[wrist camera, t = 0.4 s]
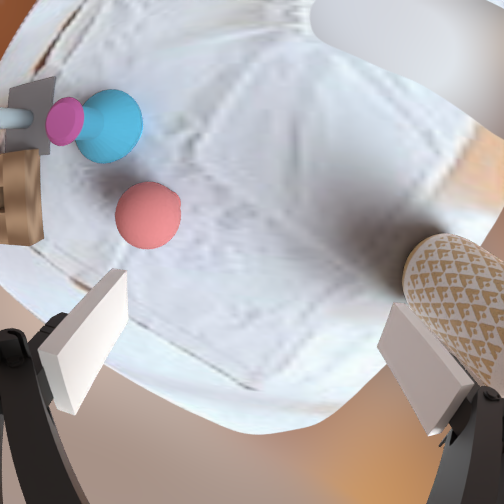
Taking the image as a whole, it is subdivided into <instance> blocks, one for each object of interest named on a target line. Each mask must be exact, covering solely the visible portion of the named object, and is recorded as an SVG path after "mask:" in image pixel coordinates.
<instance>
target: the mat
mask: <svg viewBox="0 0 504 504" xmlns="http://www.w3.org/2000/svg"><path fill="white" fill-rule="evenodd" d="M55 79H56V77H50V78H46V79H42V80H38V81H34V82H31V83H27V84H24V85H20V86H17V87H13V88H10V92H9V100H8V108H15V109H27V110H31V111H32V112H33V122H32V124H31V126H30V127H28V128H26V129H6V139H5V153H9V152H15V151H22V150H32V149H39V155H49V154H50V140H49V138H48V137H47V134H46V129H45V123H46V118H47V115H48V112H49V110H50V109H51V107H52V105H53V95H54V87H55Z"/></svg>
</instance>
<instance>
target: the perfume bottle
mask: <svg viewBox="0 0 504 504" xmlns="http://www.w3.org/2000/svg"><path fill="white" fill-rule="evenodd" d="M45 129H46V134H47V137H48V138H49V140H50V141H51V142H52V143H53V144H55V145H58V146H64V145H68V144H70V143H71V142H73V141H74V140H76V143H77V146H78V148H79V150H80V151H81V153H82V154H83V155H84V156H85V157H86V158H87V159H89V160H91V161H93V162H96V163H103V164H104V163H111V162H114V161H117V160H119V159H121V158H123V157H124V156H126V155H127V154H128V153H129V152H130V151H131V150H132V149H133V148H134V146H135V145H136V144H137V142H138V140H139V139H140V137H141V134H142V130H143V119H142V114H141V110H140V108H139V106H138V104H137V103H136V101H135V100H134V99H133V98H132V97H131V96H129V95H128V94H127V93H125V92H123V91H120V90H104V91H101V92H99V93H97V94H95V95H93V96H92V97H91V98H89V99H88V100H87V101H86V102H85V104H84V105H83V106H82V105H81V104H80V102H79V101H78V100H76V99H74V98H71V97H66V98H62V99H60V100H58V101H57V102H56V103H55V104H54V105H53V106H52V107H51V109H50V110H49V112H48V115H47V118H46V123H45Z"/></svg>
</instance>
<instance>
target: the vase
mask: <svg viewBox="0 0 504 504" xmlns="http://www.w3.org/2000/svg"><path fill="white" fill-rule="evenodd" d="M402 285H403V292H404V295H405V298H406V301H407V303H408V304H409V306H410V308H411V309H412V311H413V312H414V313H415V314H416V316H417V317H418V318H419V319H420V320H421V321H422V322H423V323H424V324H425V325H426V326H427V327H428V328H429V329H430V330H431V331H432V332H433V333H434V334H435V335H436V336H437V337H438V338H439V339H440V340H441V341H442V342H443V343H444V344H445V345H446V346H447V347H448V348H449V349H450V350H451V351H452V352H453V353H454V354H455V355H456V356H457V357H458V358H459V359H460V360H461V361H462V362H463V363H464V364H465V365H466V366H467V367H468V368H469V369H470V370H471V371H472V372H473V373H474V374H475V375H476V376H477V377H478V378H479V379H480V380H481V381H482V382H483V383H484V384H485V385H486V386H488V387H491V388H493V389H495V390H496V391H497V392H498V393H499V394H500V396H501V397H502V398H504V262H503V261H502V260H500V259H499V258H497V257H496V256H494V255H493V254H491V253H490V252H488V251H487V250H485V249H483V248H482V247H480V246H478V245H477V244H475V243H473V242H472V241H470V240H467V239H465V238H463V237H460V236H457V235H453V234H446V233H442V234H436V235H433V236H430V237H428V238H426V239H424V240H423V241H421V242H420V243H419V244H418V245H417V246H416V247H415V248H414V249H413V250H412V252H411V253H410V255H409V256H408V258H407V260H406V263H405V266H404V270H403V277H402Z"/></svg>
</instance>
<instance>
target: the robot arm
mask: <svg viewBox="0 0 504 504" xmlns="http://www.w3.org/2000/svg"><path fill="white" fill-rule="evenodd" d="M127 322H128V302H127V271H126V270H120V269H114V268H112V269H111V270H110V271H109V272H108V273H107V274H106V275H105V276H104V277H103V278H102V279H101V280H100V281H99V282H98V283H97V284H96V285H95V286H94V287H93V288H92V289H91V290H90V291H89V292H88V294H87V295H86V296H85V297H84V298H83V299H82V300H81V301H80V302H79V303H78V304H77V305H76V306H75V307H74V308H73V310H72V311H71V312H70V313H69V314H67V313H63V312H61V313H59V314H57V315H55V316H53V317H52V318H51V319H50V320H49V321H48V322H47V323H46V324H45V326H43V327H42V328H41V329H40V331H39V332H37V333H36V335H35V336H34V337H33V338H32V339H31V340H30V341H29V342H28V343H27V339H26V336H25V334H24V333H23V332H22V331H21V330H18V329H14V328H10V329H4V330H1V331H0V504H3V497H2V439H3V438H2V437H3V425H4V421H5V426H6V432H7V437H8V441H9V446H10V450H11V454H12V458H13V462H14V466H15V469H16V473H17V477H18V480H19V483H20V486H21V489H22V492H23V495H24V498H25V501H26V504H90V503H89V502H88V500H87V498H86V496H85V494H84V492H83V490H82V488H81V486H80V484H79V482H78V480H77V477H76V475H75V473H74V471H73V469H72V466H71V464H70V462H69V459H68V457H67V455H66V452H65V450H64V447H63V444H62V442H61V439H60V437H59V434H58V431H57V429H56V425H55V423H54V420H53V417H52V414H51V411H50V408H49V404H50V403H51V401H52V400H53V399H54V402H55V404H56V407H57V409H58V410H61V411H64V412H67V413H69V414H72V415H76V413H77V411H78V409H79V407H80V405H81V404H82V402H83V400H84V398H85V396H86V394H87V392H88V390H89V389H90V387H91V385H92V383H93V381H94V379H95V378H96V376H97V374H98V372H99V370H100V369H101V367H102V365H103V363H104V362H105V360H106V358H107V356H108V355H109V353H110V351H111V349H112V348H113V346H114V344H115V342H116V341H117V339H118V337H119V336H120V334H121V332H122V331H123V329H124V327H125V326H126V324H127ZM377 348H378V349H379V351H380V353H381V354H382V356H383V358H384V359H385V361H386V363H387V364H388V366H389V368H390V369H391V371H392V373H393V375H394V376H395V378H396V380H397V382H398V383H399V385H400V386H401V388H402V390H403V392H404V394H405V396H406V397H407V399H408V401H409V403H410V404H411V406H412V408H413V410H414V412H415V413H416V415H417V417H418V419H419V420H420V422H421V424H422V426H423V428H424V430H425V432H426V434H427V435H428V436H430V435H434V434H439V433H441V432H442V431H443V430H444V428H445V427H446V426H447V424H448V423H449V424H450V426H451V427H452V429H451V430H450V431H449V433H448V434H447V435H446V437H445V438H444V439H443V440H442V442H441V443H440V444H439V447H441V446H442V444H444V443H445V447H444V450H443V454H442V458H441V462H440V465H439V468H438V471H437V475H436V478H435V481H434V484H433V487H432V490H431V492H430V495H429V498H428V501H427V503H426V504H504V398H501V396H500V394H499V393H498V392H497V391H496V390H495V389H493V388H491V387H488V386H481V387H480V386H479V385H478V384H477V382H476V381H475V380H474V379H473V377H471V375H470V374H469V373H468V371H467V370H465V368H464V367H463V365H461V364H460V362H459V361H458V359H457V358H456V357H455V356H454V355H452V354H451V353H450V352H448V351H447V350H446V348H445V347H444V346H443V345H442V344H441V343H440V342H439V340H438V339H437V338H436V337H435V336H434V335H433V333H432V332H431V331H430V330H429V329H428V328H427V327H426V326H425V324H424V323H423V322H422V321H421V320H420V319H419V318H418V317H417V316H416V314H415V313H414V312H413V311H412V310H411V309H410V308H409V307H408V306H407V305H406V304H405V303H394V302H393V305H392V308H391V311H390V314H389V317H388V319H387V322H386V325H385V327H384V330H383V333H382V335H381V338H380V340H379V343H378V345H377Z"/></svg>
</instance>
